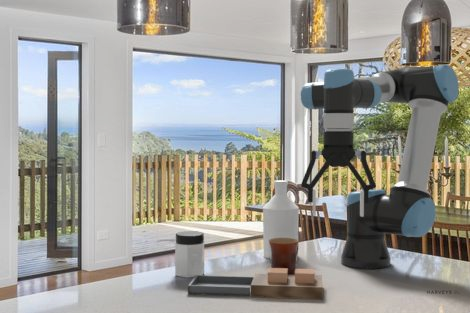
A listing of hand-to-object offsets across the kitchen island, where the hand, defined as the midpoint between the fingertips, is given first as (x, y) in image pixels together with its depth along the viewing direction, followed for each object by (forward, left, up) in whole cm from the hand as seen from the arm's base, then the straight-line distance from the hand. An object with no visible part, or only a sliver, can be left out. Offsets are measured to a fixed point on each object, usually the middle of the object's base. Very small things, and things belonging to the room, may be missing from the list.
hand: (337, 215), depth 154 cm
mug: (+14, -18, -20) cm, 31 cm away
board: (+13, 0, -20) cm, 24 cm away
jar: (+42, -15, -20) cm, 49 cm away
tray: (+30, 0, -20) cm, 36 cm away
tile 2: (+8, 0, -17) cm, 19 cm away
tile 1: (+15, 0, -17) cm, 23 cm away
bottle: (+17, -43, -20) cm, 50 cm away
